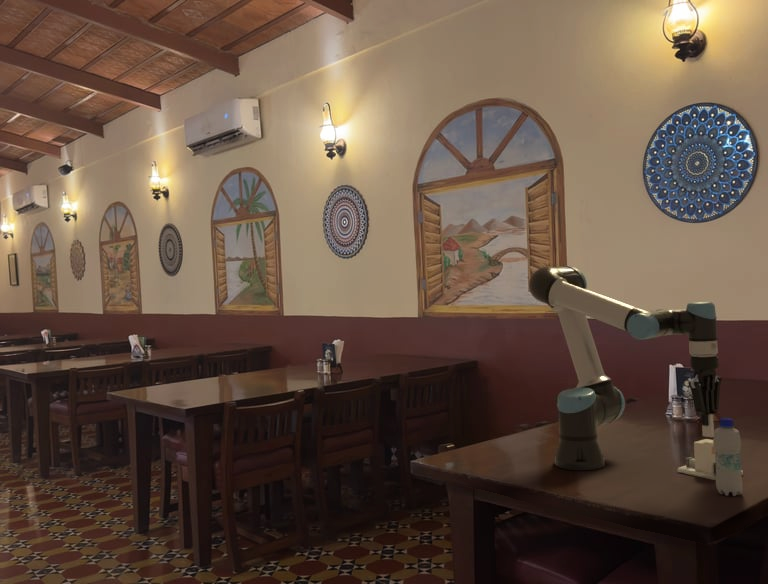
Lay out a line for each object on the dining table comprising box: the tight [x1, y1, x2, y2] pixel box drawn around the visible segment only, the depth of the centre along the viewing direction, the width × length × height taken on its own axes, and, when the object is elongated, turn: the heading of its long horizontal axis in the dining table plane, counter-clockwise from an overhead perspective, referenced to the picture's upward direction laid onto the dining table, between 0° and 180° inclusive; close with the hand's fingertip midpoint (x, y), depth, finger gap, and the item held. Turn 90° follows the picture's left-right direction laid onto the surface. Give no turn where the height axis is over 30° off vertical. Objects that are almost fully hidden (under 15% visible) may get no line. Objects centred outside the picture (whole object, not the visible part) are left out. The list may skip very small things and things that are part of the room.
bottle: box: [712, 417, 744, 497], centre depth 183 cm, size 7×7×20 cm
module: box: [693, 438, 716, 473], centre depth 202 cm, size 6×5×8 cm
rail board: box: [677, 456, 744, 481], centre depth 202 cm, size 10×14×3 cm
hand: (708, 436), depth 201 cm, fingers closed
